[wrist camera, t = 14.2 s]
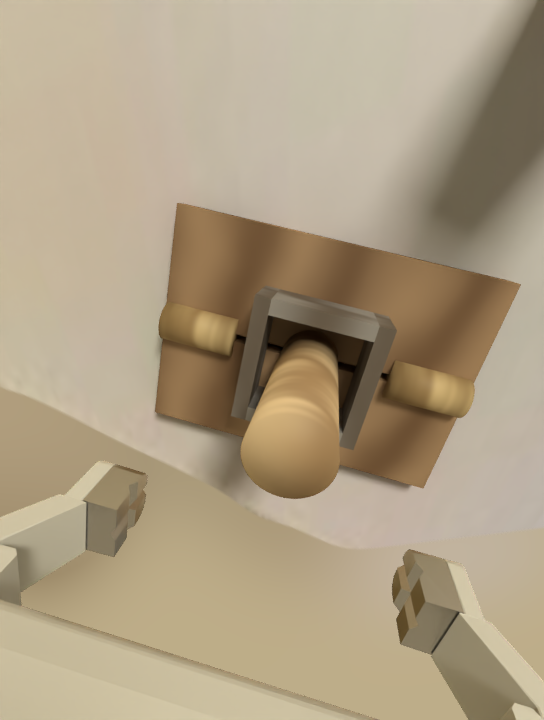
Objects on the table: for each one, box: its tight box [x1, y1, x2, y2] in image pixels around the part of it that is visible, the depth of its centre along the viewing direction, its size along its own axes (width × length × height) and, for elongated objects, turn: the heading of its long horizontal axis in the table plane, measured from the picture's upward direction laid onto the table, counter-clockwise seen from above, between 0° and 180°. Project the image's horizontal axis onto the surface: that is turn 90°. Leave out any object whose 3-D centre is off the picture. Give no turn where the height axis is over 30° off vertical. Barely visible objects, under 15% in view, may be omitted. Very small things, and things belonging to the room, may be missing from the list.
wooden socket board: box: [155, 203, 521, 488], centre depth 25 cm, size 22×16×5 cm
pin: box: [241, 330, 340, 499], centre depth 20 cm, size 4×4×12 cm
